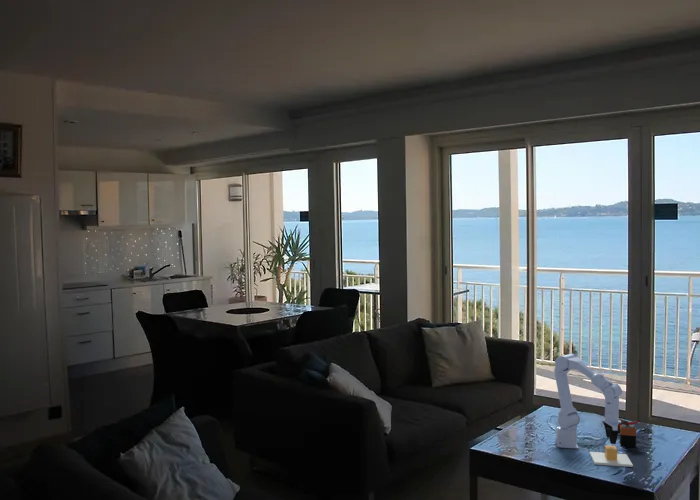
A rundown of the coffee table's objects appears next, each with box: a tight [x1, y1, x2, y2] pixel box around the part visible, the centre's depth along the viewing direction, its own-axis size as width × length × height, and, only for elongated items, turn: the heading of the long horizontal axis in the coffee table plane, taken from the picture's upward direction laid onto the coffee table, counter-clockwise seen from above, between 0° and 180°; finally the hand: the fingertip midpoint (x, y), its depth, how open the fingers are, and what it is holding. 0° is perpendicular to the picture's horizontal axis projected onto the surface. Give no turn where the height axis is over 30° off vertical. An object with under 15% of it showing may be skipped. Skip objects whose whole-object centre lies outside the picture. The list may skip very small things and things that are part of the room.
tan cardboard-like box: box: [604, 444, 618, 460], centre depth 281 cm, size 4×4×5 cm
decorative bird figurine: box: [603, 415, 640, 429], centre depth 315 cm, size 3×18×10 cm, turn 82°
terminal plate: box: [589, 451, 634, 468], centre depth 282 cm, size 16×12×4 cm
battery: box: [619, 424, 637, 448], centre depth 299 cm, size 4×7×10 cm, turn 75°
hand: (611, 440), depth 281 cm, fingers open, 7 cm apart
